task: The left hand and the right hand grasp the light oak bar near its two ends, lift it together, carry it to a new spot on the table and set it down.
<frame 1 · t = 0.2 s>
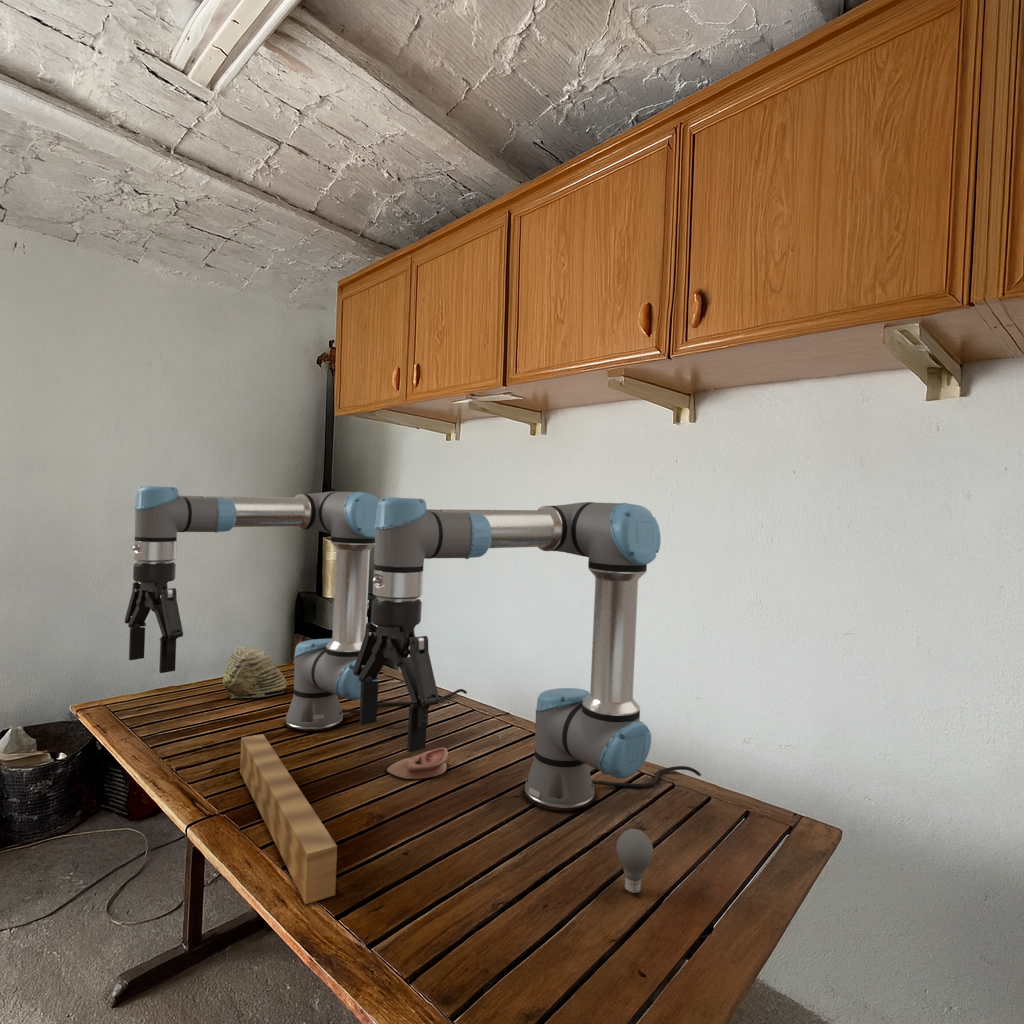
left hand: (151, 665, 130), 27 cm above the table, tool pointing down, fingers open, 13 cm apart
right hand: (390, 735, 97), 27 cm above the table, tool pointing down, fingers open, 13 cm apart
fossil: (254, 694, 198), on the table
light bulb: (632, 891, 106), on the table
anatomical model: (417, 770, 149), on the table
bar: (279, 823, 122), on the table
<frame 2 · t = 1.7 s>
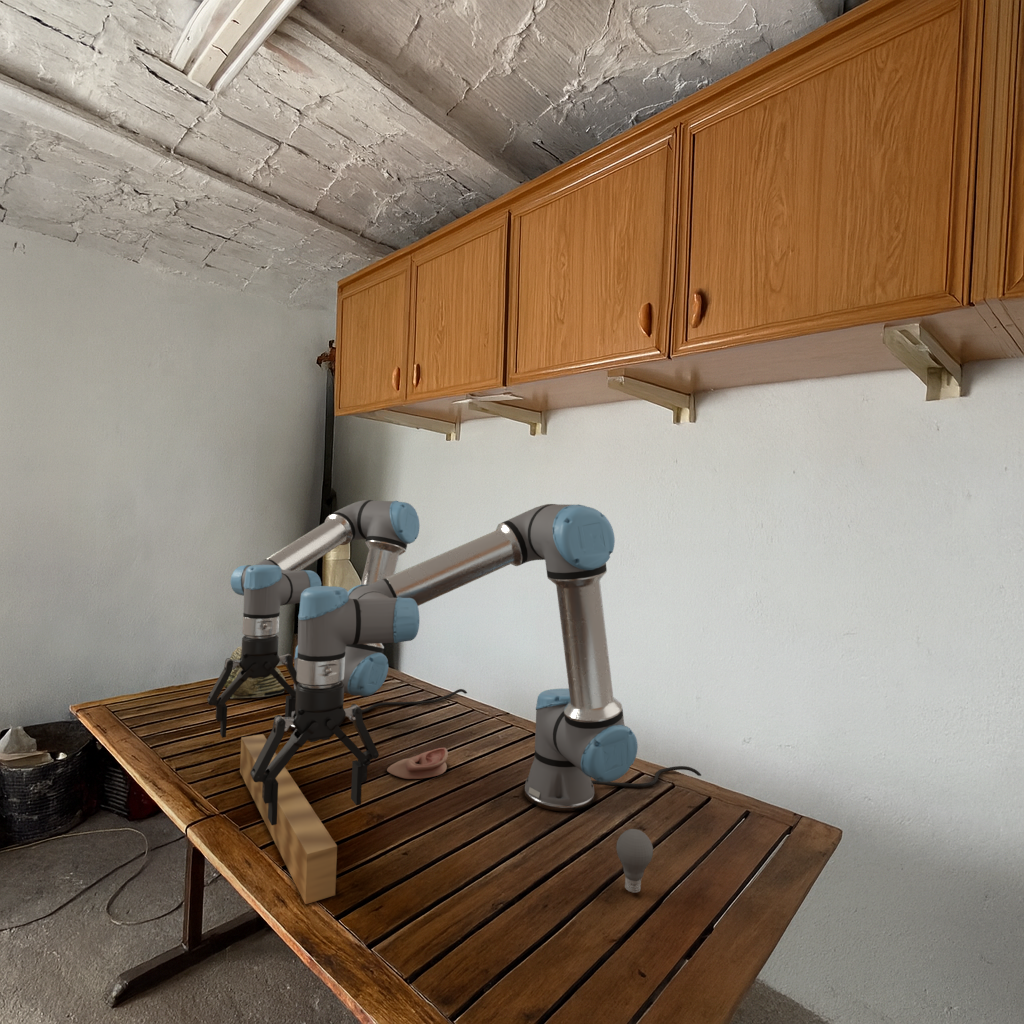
left hand: (256, 730, 141), 11 cm above the table, tool pointing down, fingers open, 13 cm apart
right hand: (315, 811, 104), 12 cm above the table, tool pointing down, fingers open, 13 cm apart
nothing on the table moved.
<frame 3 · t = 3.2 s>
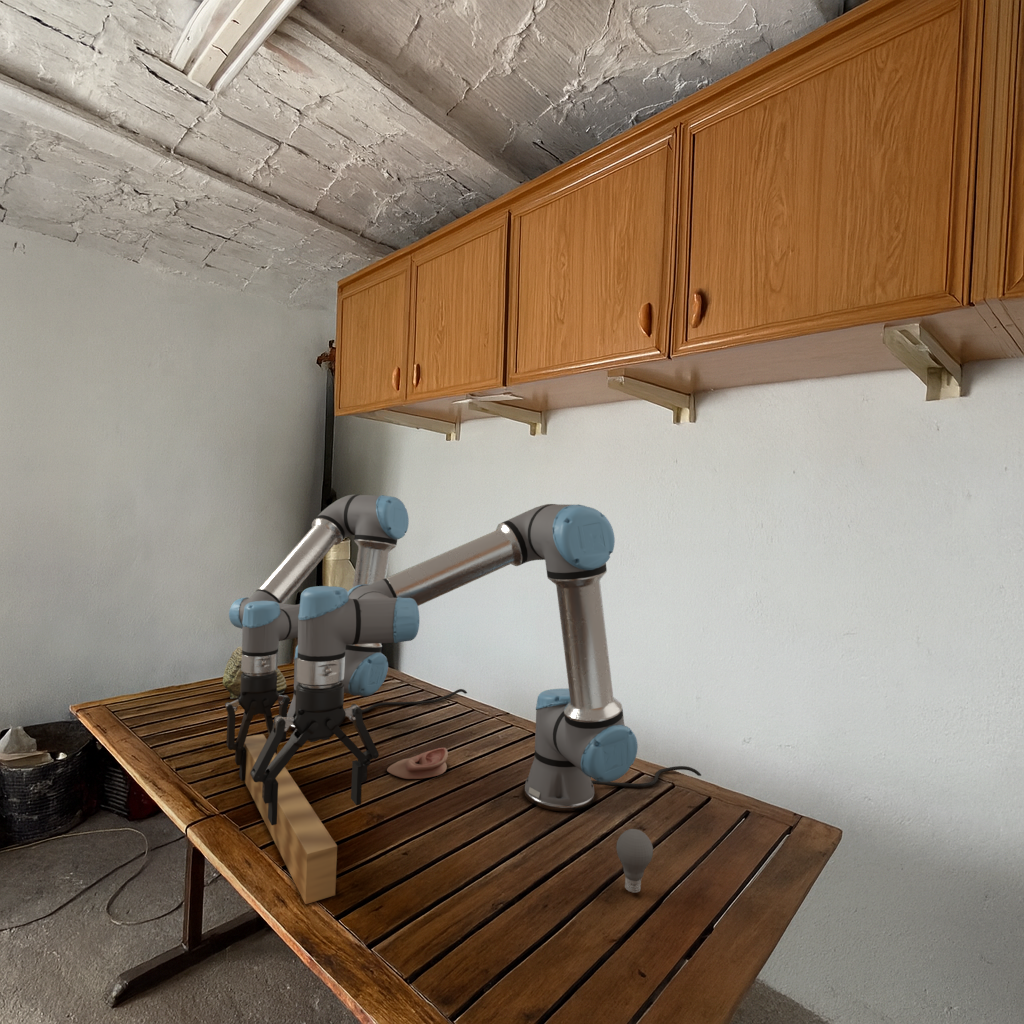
left hand: (255, 775, 141), 1 cm above the table, tool pointing down, fingers closed on bar, 5 cm apart
right hand: (315, 811, 104), 12 cm above the table, tool pointing down, fingers open, 13 cm apart
bar: (279, 823, 122), on the table, touching left hand
everything else where it was.
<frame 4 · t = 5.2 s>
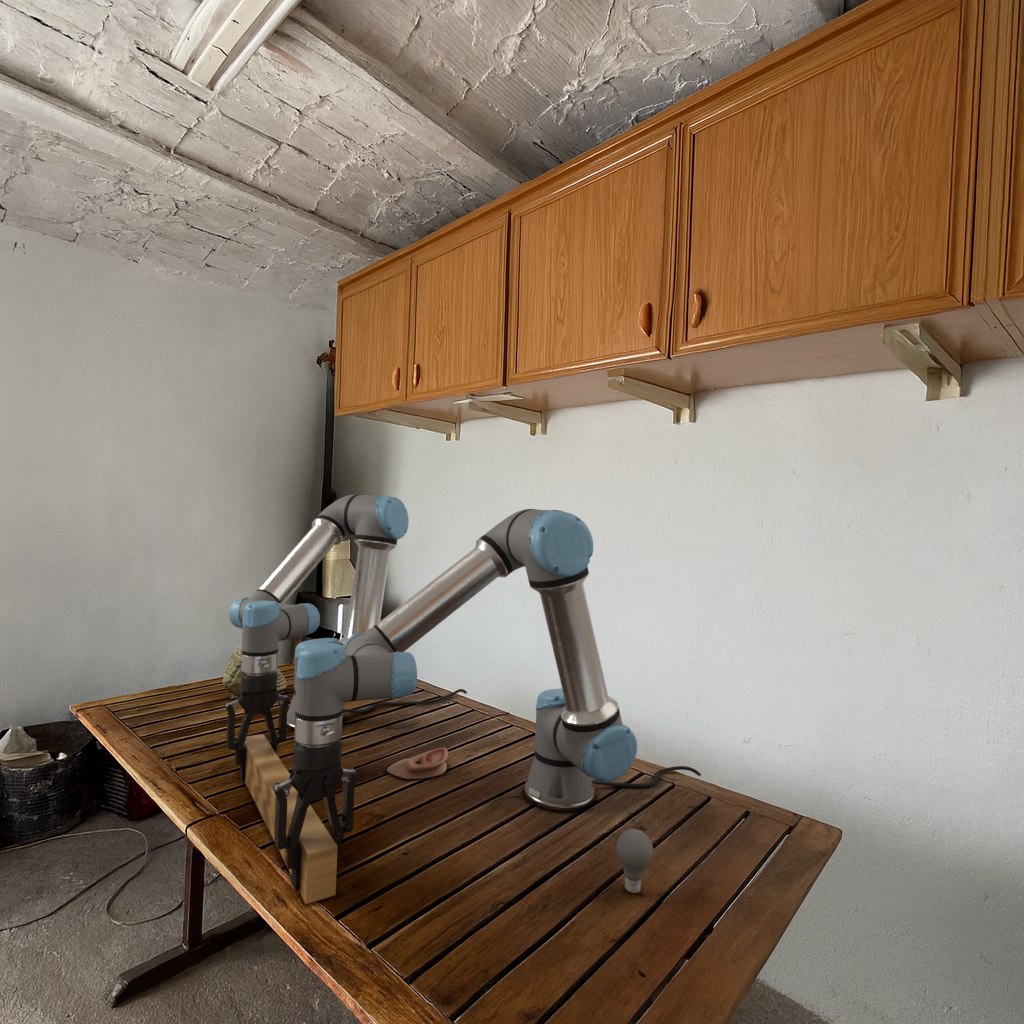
left hand: (255, 775, 141), 1 cm above the table, tool pointing down, fingers closed on bar, 5 cm apart
right hand: (312, 880, 104), 1 cm above the table, tool pointing down, fingers closed on bar, 5 cm apart
bar: (279, 823, 122), on the table, touching left hand, right hand
everything else where it was.
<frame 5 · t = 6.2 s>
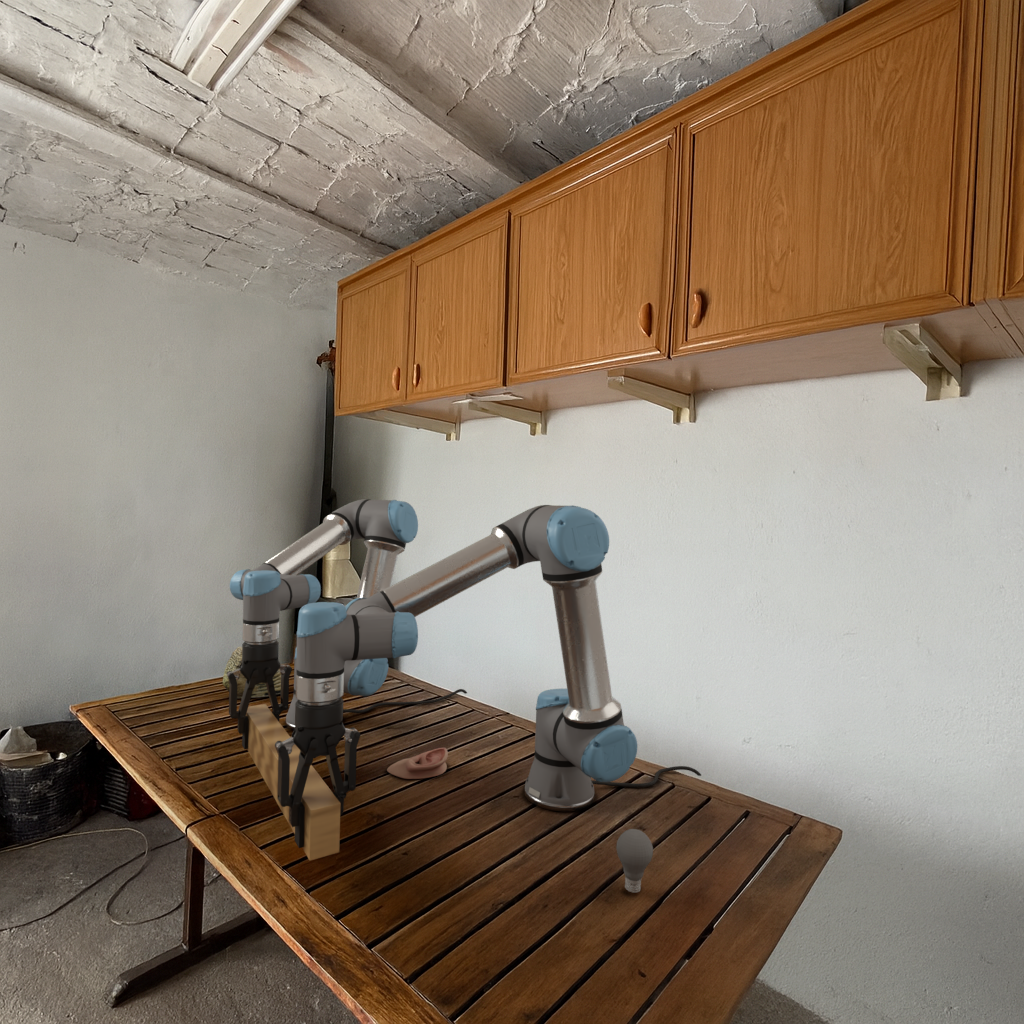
left hand: (258, 744, 141), 8 cm above the table, tool pointing down, fingers closed on bar, 5 cm apart
right hand: (316, 838, 104), 7 cm above the table, tool pointing down, fingers closed on bar, 5 cm apart
bar: (282, 787, 123), point 7 cm above the table, touching left hand, right hand
everything else where it was.
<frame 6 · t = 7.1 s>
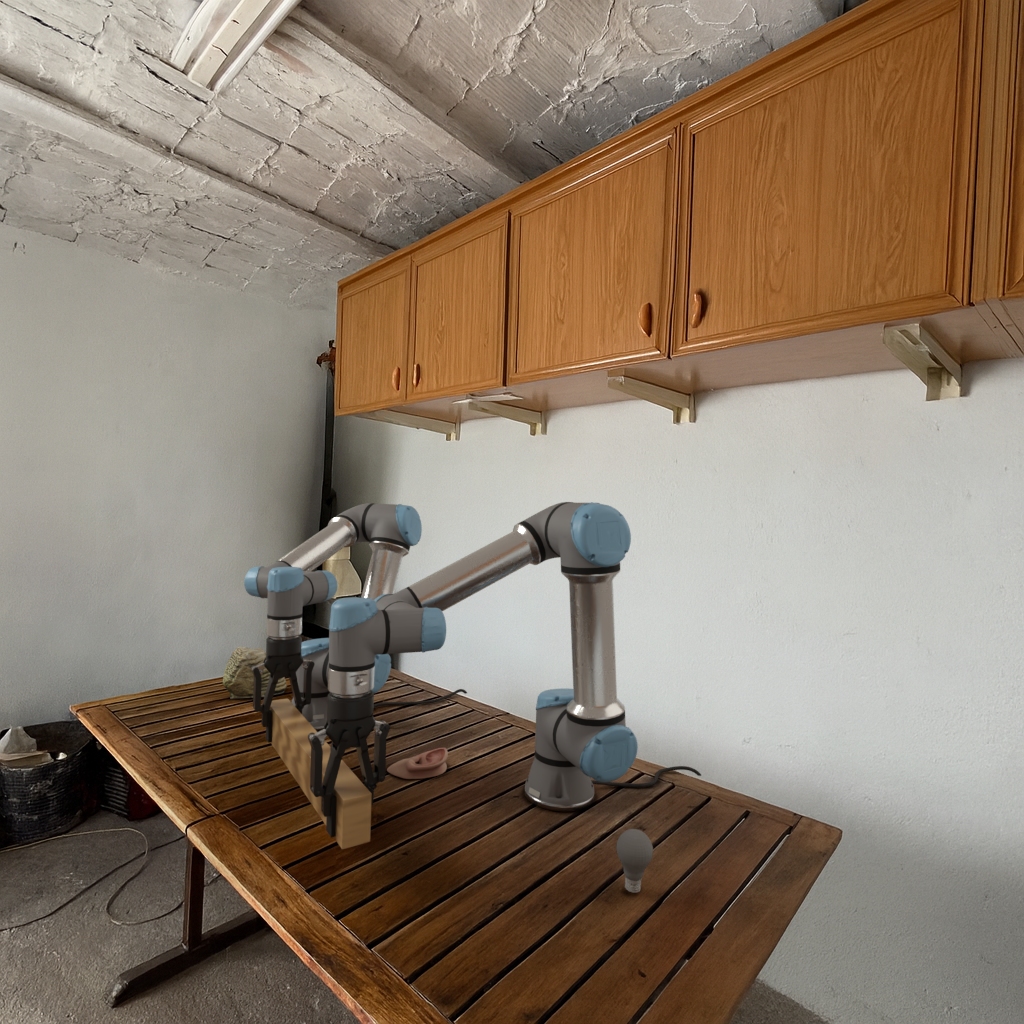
left hand: (281, 737, 143), 8 cm above the table, tool pointing down, fingers closed on bar, 5 cm apart
right hand: (347, 828, 106), 8 cm above the table, tool pointing down, fingers closed on bar, 5 cm apart
bar: (309, 779, 125), point 8 cm above the table, touching left hand, right hand
everything else where it was.
when the left hand's fingers open (2 cm above the table, at t = 9.3 s): bar drops 1 cm, on the table.
when the right hand's fingers open (2 cm above the table, at t = 9.3 s): bar drops 1 cm, on the table.
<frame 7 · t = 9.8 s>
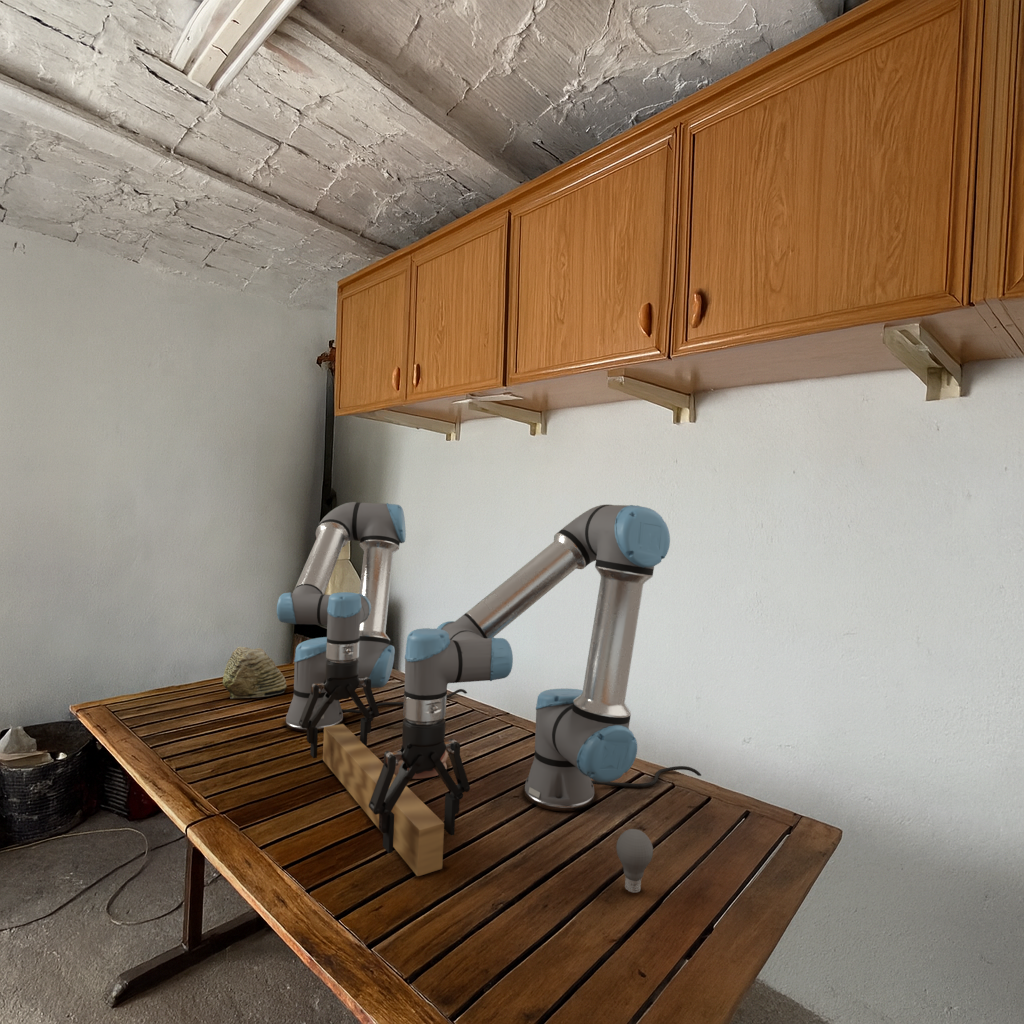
left hand: (338, 751, 149), 3 cm above the table, tool pointing down, fingers open, 11 cm apart
right hand: (419, 840, 112), 3 cm above the table, tool pointing down, fingers open, 11 cm apart
bar: (372, 805, 131), on the table
everything else where it was.
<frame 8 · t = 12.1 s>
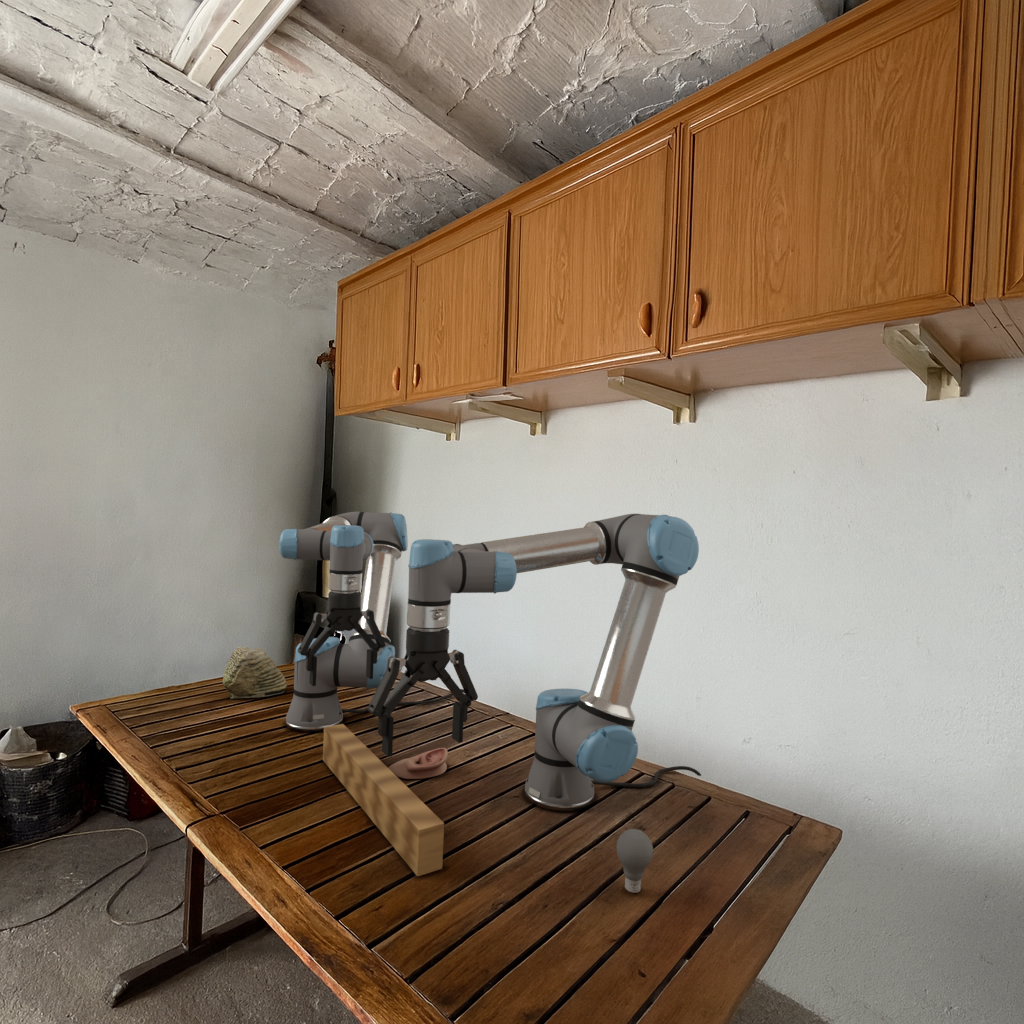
left hand: (341, 681, 149), 20 cm above the table, tool pointing down, fingers open, 13 cm apart
right hand: (423, 746, 112), 20 cm above the table, tool pointing down, fingers open, 13 cm apart
nothing on the table moved.
at the end: bar inside the target area (0.1 cm from its centre), on the table; bar tilted 0°; bar never tilted more than 1° during the clip; both hands held the bar at the same time; the left hand is holding nothing; the right hand is holding nothing; bar at rest at the end (0.0 cm/s) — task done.
